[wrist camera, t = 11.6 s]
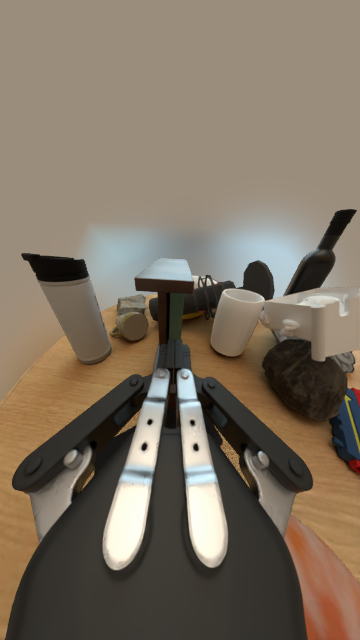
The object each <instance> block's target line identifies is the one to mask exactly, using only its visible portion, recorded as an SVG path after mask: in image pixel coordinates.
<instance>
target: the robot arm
mask: <svg viewBox="0 0 360 640" xmlns="http://www.w3.org/2000/svg"><path fill="white" fill-rule="evenodd" d="M174 346H175V356H174ZM173 370H174V382H173ZM170 385H176V390H175V399H176V428H174V429H168V428H165V424H166V414H167V407H168V400H169V393H170ZM141 408H142V409H141ZM140 409H141V412H140V416H139V419H138V422H137V426H136V429H135V432H133V433H131V434H130V435H129V436H128V437H127V438H126V439H125V440H124V441H123V442H122V443H121V444H120V445H119V447H118V448H117V449H116V450H115V451H114V453H113V454H112V455H111V456H110V457H109V459H108V460H107V461H106V462H105V463H104V465H103V466H102V467H101V468H100V469H99V470H98V472H97V473H96V474H95V475H94V476H93V478H92V479H91V480H90V481H89V482H88V484H87V485H86V486H85V487H84V488H83V485H84V484H85V482H86V480H87V479H88V478H89V476H90V475H91V473H92V472H93V470H94V468H95V465H96V461H97V454H98V453H99V452H100V451H101V450H102V449H103V448H104V447H105V446H106V445H107V444H108V443H109V442H110V440H111V439H112V438H113V437H114V436H115V435H116V434H117V433H118V432H119V431H120V430H121V429H122V428H123V427H124V426H125V425H126V424H127V423H128V422H129V420H130V419H131V418H132V417H133V416H134V415H135V414H136V413H137V412H138V411H139V410H140ZM202 411H203V412H204V413H205V414H206V416H207V417H208V418H209V419H210V421H211V422H212V423H213V424H214V425H215V427H216V428H217V429H218V430H219V432H220V433H221V434H222V435H223V437H224V438H225V439H226V440H227V441H228V443H229V444H230V445H231V446H232V448H233V449H234V450H235V451H236V453H237V454H238V455H239V456H240V457H239V464H240V468H241V471H242V473H243V475H244V476H245V478H246V480H247V482H248V484H249V486H250V488H249V487H248V486H247V484H246V483H245V481H244V480H243V479H242V477H241V476H240V474H239V473H238V472H237V470H236V469H235V467H234V466H233V465H232V463H231V462H230V460H229V459H228V458H227V456H226V455H225V453H224V452H223V451H222V449H221V448H220V446H219V445H218V444H217V442H216V441H215V440H214V439H213V438H212V437H211V436H210V435H209V434H208V433H206V428H205V423H204V418H203V413H202ZM12 486H13V488H14V489H15V490H18V491H23V492H24V493H26V494H29V495H30V498H31V504H32V509H33V514H34V519H35V524H36V529H37V534H38V539H39V545H38V547H37V549H36V550H35V552H34V554H33V556H32V558H31V559H30V561H29V563H28V565H27V568H26V570H25V572H24V574H23V577H22V579H21V582H20V584H19V587H18V590H17V592H16V596H15V599H14V602H13V606H12V610H11V614H10V619H9V623H8V628H7V633H6V638H5V640H308V636H307V629H306V623H305V614H304V605H303V597H302V591H301V586H300V582H299V578H298V574H297V571H296V568H295V565H294V562H293V559H292V556H291V554H290V551H289V549H288V547H287V544H286V542H285V540H284V537H285V533H286V529H287V525H288V521H289V518H290V514H291V510H292V506H293V502H294V498H295V495H296V494H297V493H300V492H304V491H308V490H310V489H311V488H312V486H313V479H312V475H311V473H310V471H309V469H308V467H307V465H306V464H305V463H304V461H303V460H302V459H301V458H300V457H299V456H298V455H297V454H296V453H295V452H294V451H293V450H292V449H291V448H290V447H288V446H287V445H286V444H285V443H284V442H283V441H282V440H281V439H280V438H279V437H278V436H277V435H276V434H274V433H273V432H272V431H271V430H270V429H269V428H268V427H267V426H266V425H265V424H264V423H263V422H261V421H260V420H259V419H258V418H257V417H256V416H255V415H254V414H253V413H252V412H251V411H250V410H249V409H247V408H246V407H245V406H244V405H243V404H242V403H241V402H240V401H239V400H238V399H237V398H236V397H234V396H233V395H232V394H231V393H230V392H229V391H228V390H227V389H226V388H225V387H224V386H223V385H222V384H220V383H219V382H218V381H217V380H216V379H215V378H212V377H206V378H205V379H202V378H199V377H197V376H195V375H194V374H193V372H192V370H191V361H190V351H189V347H188V346H187V345H182V340H179V339H168V343H167V344H162V345H161V347H160V350H159V356H158V361H157V367H156V370H155V372H154V373H152V374H151V375H149V376H145V377H142V376H141V375H138V374H134V375H131V376H130V377H128V378H127V379H126V380H124V381H123V382H122V383H121V384H119V385H118V386H117V387H115V388H114V389H113V390H112V391H110V392H109V393H108V394H106V395H105V396H104V397H103V398H101V399H100V400H99V401H97V402H96V403H95V404H94V405H92V406H91V407H90V408H88V409H87V410H86V411H85V412H83V413H82V414H81V415H79V416H78V417H77V418H76V419H74V420H73V421H72V422H71V423H69V424H68V425H67V426H65V427H64V428H63V429H62V430H60V431H59V432H58V433H56V434H55V435H54V436H53V437H51V438H50V439H49V440H47V441H46V442H45V443H44V444H42V445H41V446H40V447H38V448H37V449H36V450H35V451H33V452H32V453H31V454H30V455H28V456H27V457H26V458H25V459H24V460H23V462H22V463H21V464H20V465H19V467H18V468H17V470H16V472H15V474H14V476H13V479H12ZM82 488H83V490H82ZM250 489H251V490H250ZM81 490H82V491H81Z"/></svg>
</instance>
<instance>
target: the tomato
mask: <svg viewBox="0 0 360 640" xmlns="http://www.w3.org/2000/svg"><path fill="white" fill-rule="evenodd" d="M284 540H285V542H286V544H287V547H288V549H289V551H290V554H291V556H292V559H293V562H294V565H295V568H296V571H297V574H298V578H299V582H300V586H301V591H302V597H303V605H304V614H305V623H306V629H307V636H308V640H360V583H359V582H358V581H357V579H356V578H355V577H354V576H353V574H352V573H351V572H350V571H349V569H348V568H347V567H346V566H345V564H344V563H343V562H342V561H341V560H340V559H339V558H338V556H337V555H336V554H335V553H334V552H333V551H332V550H331V549H330V548H329V547H328V546H327V545H326V544H325V543H324V542H323V541H322V540H321V539H320V538H319V537H318V536H317V535H316V534H315V533H314V532H313V531H312V530H311V529H309V528H308V527H307V526H306V525H304V524H303V523H302V522H301V521H300V520H298V519H297V518H296V517H294V516H293V515H291V514H290V518H289V521H288V525H287V529H286V533H285V537H284Z"/></svg>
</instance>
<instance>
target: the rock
mask: <svg viewBox="0 0 360 640" xmlns="http://www.w3.org/2000/svg"><path fill="white" fill-rule="evenodd" d="M262 367H263V368H264V370H265V375H266V377H267V378H268V380H269V382H270V384H271V385H272V386H273V388H274V389H275V390H276V391H277V392H278V393H279V396H280V398H281V399H282V400H283V401H284V402H285V403H286V404H287V405H288V406H289V407H291V408H292V409H294V410H296V411H298V412H300V413H302V414H303V415H305V416H307V417H309V418H312V419H314V420H318V421H326V420H327V419H330V418H332V417H334V416H336V415H338V414H339V407H340V406H341V404H342V402H343V400H344V398H345V395H346V391H347V378H346V374H345V372H344V371H343V370H342V368H341V367H340V366H339V365H338V364H337V362H336V361H335V360H333V359H332V358H331V357H330V356H328V357H325V361H316V360H313V359H312V352H311V342H308V341H306V340H304V339H285V340H283V341H282V342H280V343H279V344H277V345H276V346H275V347H274V348H273V349H271V350H270V351H269V352H268V353H267V355H266V356H265V358H264V360H263V362H262Z"/></svg>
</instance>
